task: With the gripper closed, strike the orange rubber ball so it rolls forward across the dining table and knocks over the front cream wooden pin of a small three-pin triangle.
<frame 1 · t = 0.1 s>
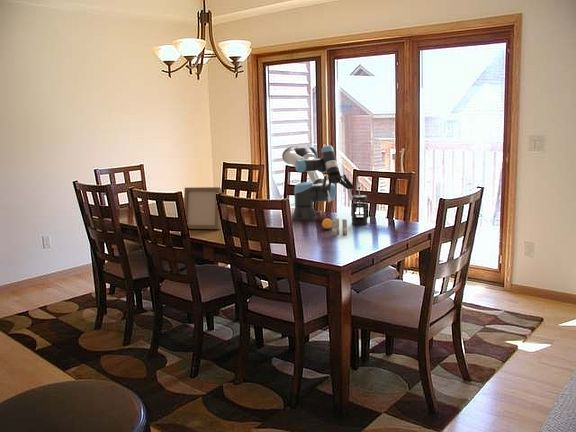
hand: (340, 200, 326), 15 cm above the table, tool tilted 35°, fingers open, 13 cm apart
photo frame: (205, 228, 337), on the table
pin front: (337, 233, 308), on the table
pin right: (334, 235, 304), on the table
french press: (360, 224, 333), on the table
ball: (327, 223, 322), on the table
pin left: (344, 234, 305), on the table
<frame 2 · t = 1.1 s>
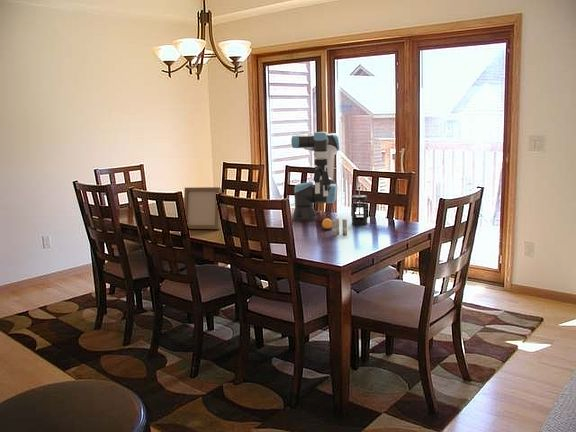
hand: (321, 194, 328), 19 cm above the table, tool pointing down, fingers open, 13 cm apart
nothing on the table moved.
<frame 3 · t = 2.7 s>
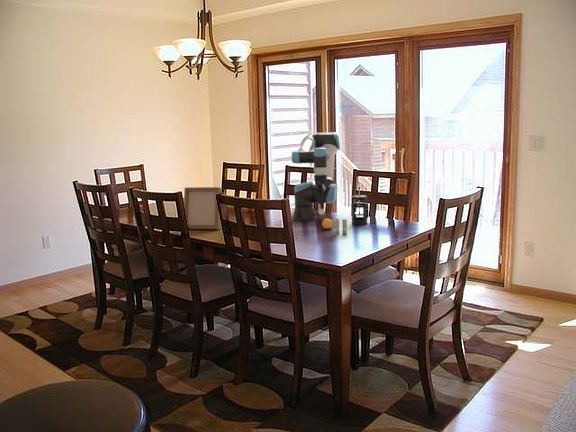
hand: (321, 214, 330), 7 cm above the table, tool pointing down, fingers closed
nothing on the table moved.
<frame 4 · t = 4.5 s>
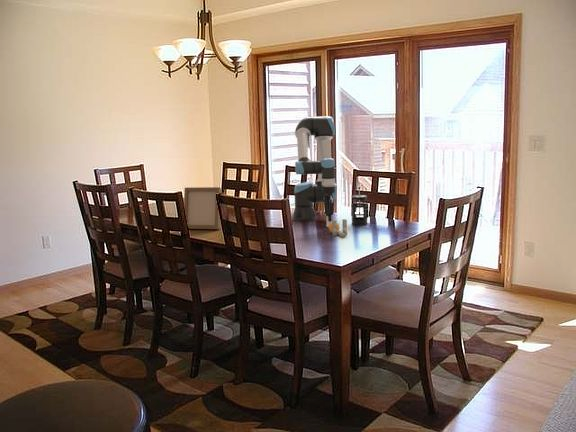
hand: (329, 226, 319), 2 cm above the table, tool pointing down, fingers closed
pin front: (337, 232, 307), point 1 cm above the table, tilted 90°
ball: (334, 227, 311), on the table
everything else where it was.
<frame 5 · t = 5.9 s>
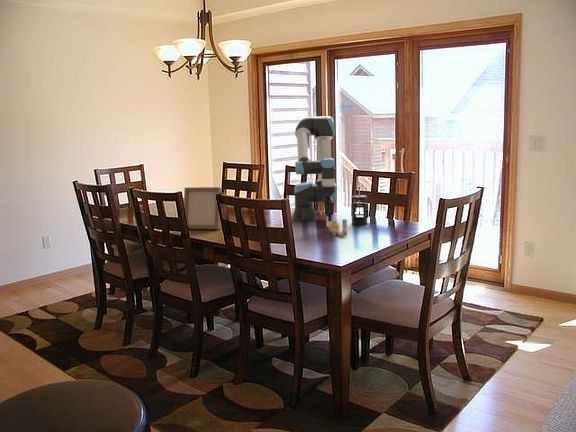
hand: (329, 226, 319), 2 cm above the table, tool pointing down, fingers closed
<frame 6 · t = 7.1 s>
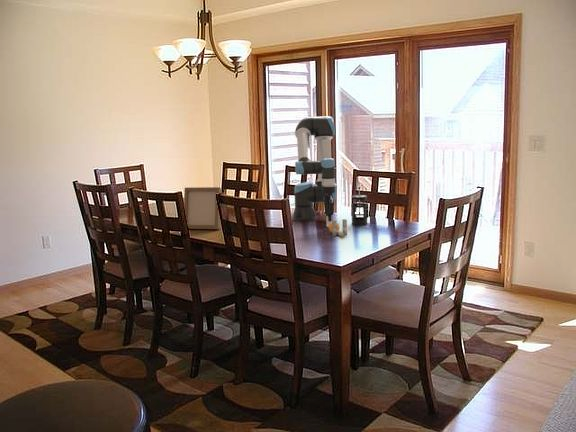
hand: (329, 226, 319), 2 cm above the table, tool pointing down, fingers closed
nothing on the table moved.
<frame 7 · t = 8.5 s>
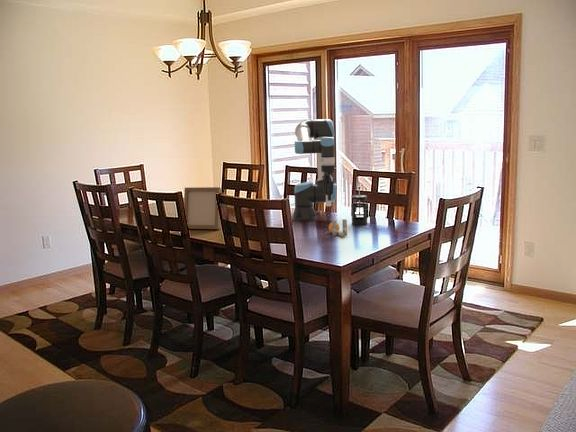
hand: (328, 205, 317), 14 cm above the table, tool pointing down, fingers closed
nothing on the table moved.
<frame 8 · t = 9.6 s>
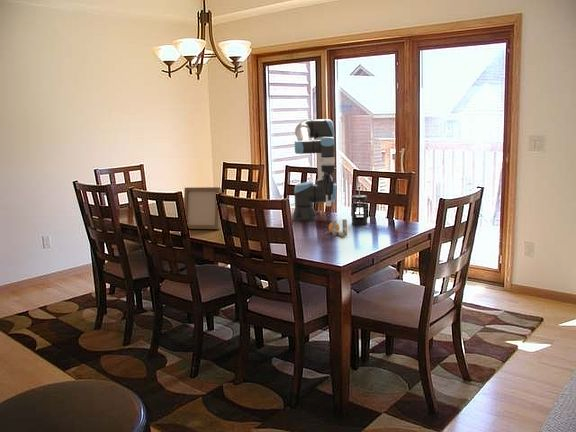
hand: (328, 205, 317), 14 cm above the table, tool pointing down, fingers closed
nothing on the table moved.
at the end: pin front tilted 90°; pin front never touched the robot; ball moved 11.8 cm from its start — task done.
